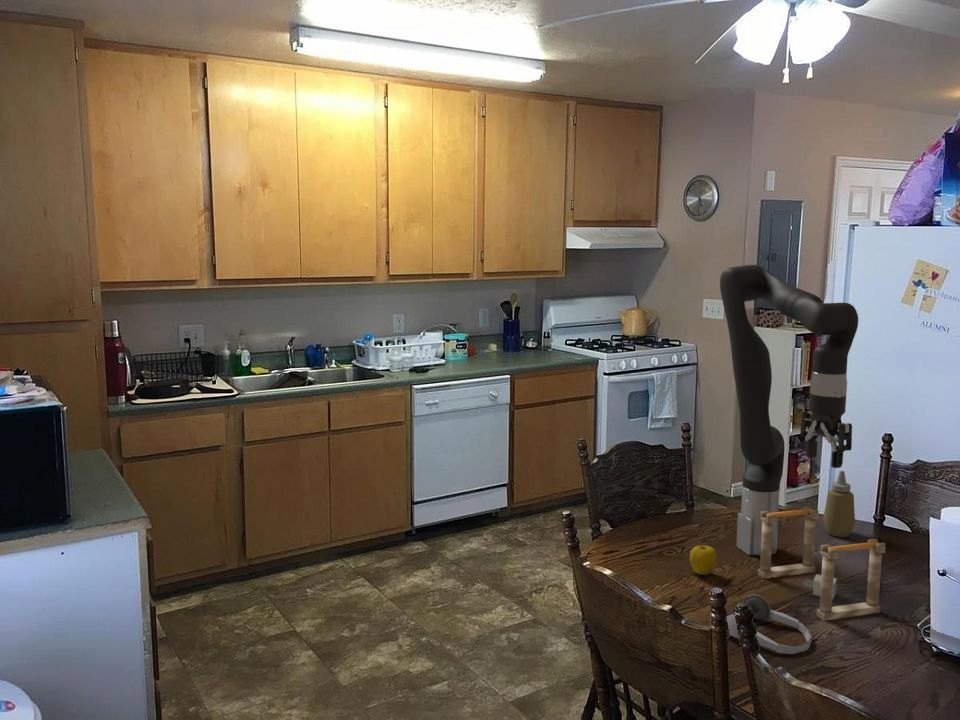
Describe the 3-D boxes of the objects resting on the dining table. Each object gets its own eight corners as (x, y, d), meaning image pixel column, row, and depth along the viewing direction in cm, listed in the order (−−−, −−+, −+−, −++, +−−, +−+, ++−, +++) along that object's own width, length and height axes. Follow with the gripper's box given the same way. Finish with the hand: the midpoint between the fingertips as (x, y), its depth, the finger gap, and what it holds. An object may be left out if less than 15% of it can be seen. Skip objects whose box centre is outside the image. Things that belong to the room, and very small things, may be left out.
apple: (684, 574, 193) (685, 543, 192) (697, 566, 198) (698, 536, 197) (708, 582, 189) (709, 550, 188) (720, 573, 193) (722, 543, 192)
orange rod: (830, 553, 168) (831, 548, 168) (827, 551, 169) (827, 546, 169) (880, 547, 171) (880, 542, 171) (876, 545, 172) (876, 540, 172)
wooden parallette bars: (824, 621, 169) (829, 550, 167) (757, 574, 193) (759, 511, 191) (881, 613, 173) (886, 543, 170) (807, 567, 196) (811, 506, 194)
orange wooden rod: (769, 519, 189) (769, 514, 189) (766, 517, 190) (766, 512, 190) (814, 514, 192) (814, 509, 192) (811, 512, 193) (811, 507, 193)
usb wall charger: (832, 600, 179) (833, 583, 178) (800, 593, 183) (801, 577, 182) (835, 593, 182) (836, 577, 182) (804, 586, 186) (805, 570, 185)
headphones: (699, 627, 165) (794, 673, 153) (704, 603, 164) (800, 648, 152) (731, 598, 178) (821, 638, 166) (736, 575, 177) (827, 614, 165)
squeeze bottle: (859, 539, 215) (863, 475, 212) (829, 539, 215) (833, 475, 212) (846, 528, 223) (850, 467, 220) (817, 528, 223) (821, 467, 220)
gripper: (793, 387, 181) (789, 455, 184) (835, 399, 168) (830, 472, 170) (821, 385, 183) (817, 452, 186) (865, 397, 170) (859, 469, 172)
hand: (823, 462), depth 178 cm, fingers open, 8 cm apart
